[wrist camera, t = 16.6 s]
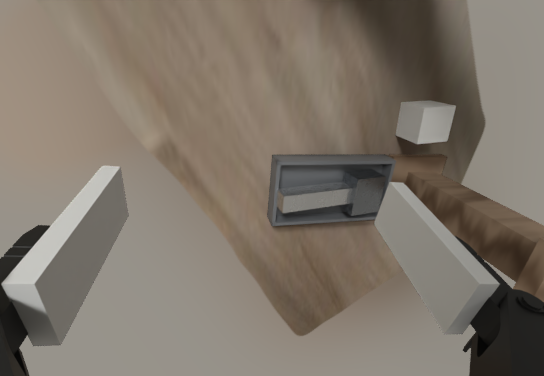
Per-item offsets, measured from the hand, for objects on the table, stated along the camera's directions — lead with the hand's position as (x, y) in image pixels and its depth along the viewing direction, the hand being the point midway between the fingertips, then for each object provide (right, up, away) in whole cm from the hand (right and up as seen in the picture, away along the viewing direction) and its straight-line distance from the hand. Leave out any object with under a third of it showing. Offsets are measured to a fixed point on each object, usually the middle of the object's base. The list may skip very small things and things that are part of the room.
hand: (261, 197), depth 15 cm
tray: (+11, +1, +40) cm, 42 cm away
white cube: (+26, +13, +39) cm, 49 cm away
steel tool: (+10, 0, +38) cm, 39 cm away
